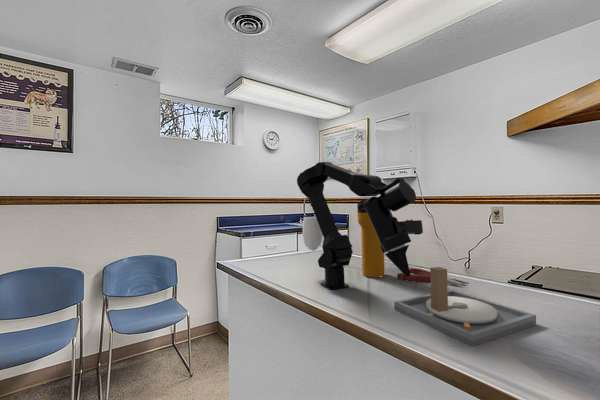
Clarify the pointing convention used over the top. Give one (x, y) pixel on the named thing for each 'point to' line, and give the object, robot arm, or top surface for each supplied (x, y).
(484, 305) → the dial
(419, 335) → the top surface
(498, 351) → the top surface
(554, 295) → the top surface
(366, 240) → the flashlight
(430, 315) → the dial board
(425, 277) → the pliers
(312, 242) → the grey rounded cylinder
